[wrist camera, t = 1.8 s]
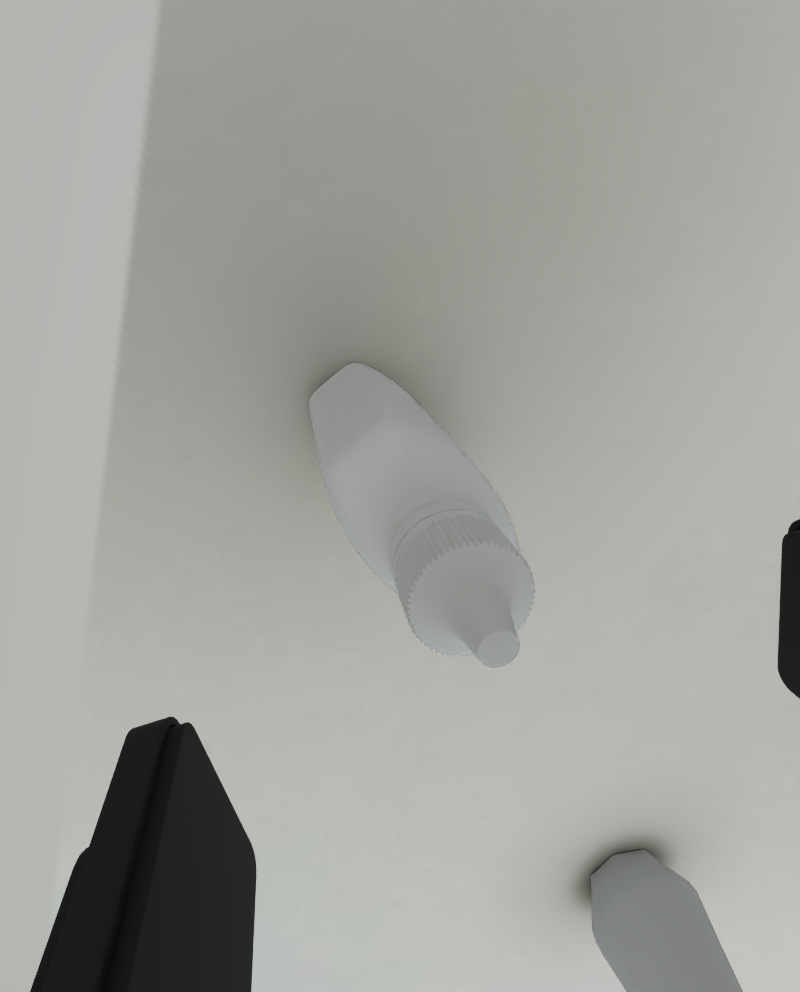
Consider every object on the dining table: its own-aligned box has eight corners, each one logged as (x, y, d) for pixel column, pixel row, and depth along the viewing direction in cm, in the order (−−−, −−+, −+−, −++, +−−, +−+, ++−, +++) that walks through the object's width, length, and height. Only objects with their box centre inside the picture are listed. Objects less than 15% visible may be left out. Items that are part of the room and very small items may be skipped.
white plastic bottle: (334, 524, 21) (392, 809, 10) (300, 369, 19) (326, 522, 8) (451, 498, 22) (626, 744, 11) (431, 344, 19) (626, 455, 8)
